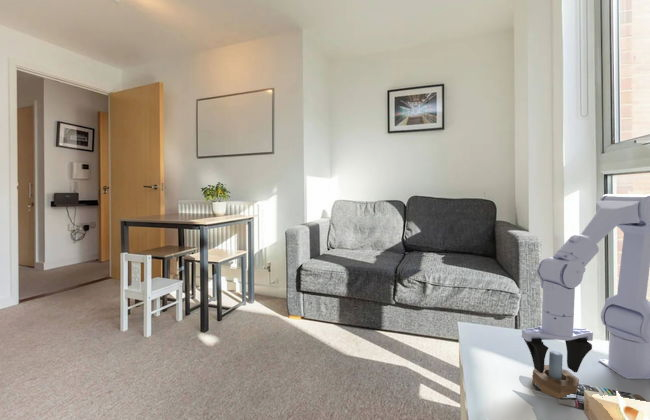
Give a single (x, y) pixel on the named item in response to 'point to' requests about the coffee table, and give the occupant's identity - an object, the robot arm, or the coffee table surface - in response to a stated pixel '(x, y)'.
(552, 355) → the dowel
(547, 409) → the coffee table surface
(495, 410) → the coffee table surface
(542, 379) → the wooden octagonal ring
